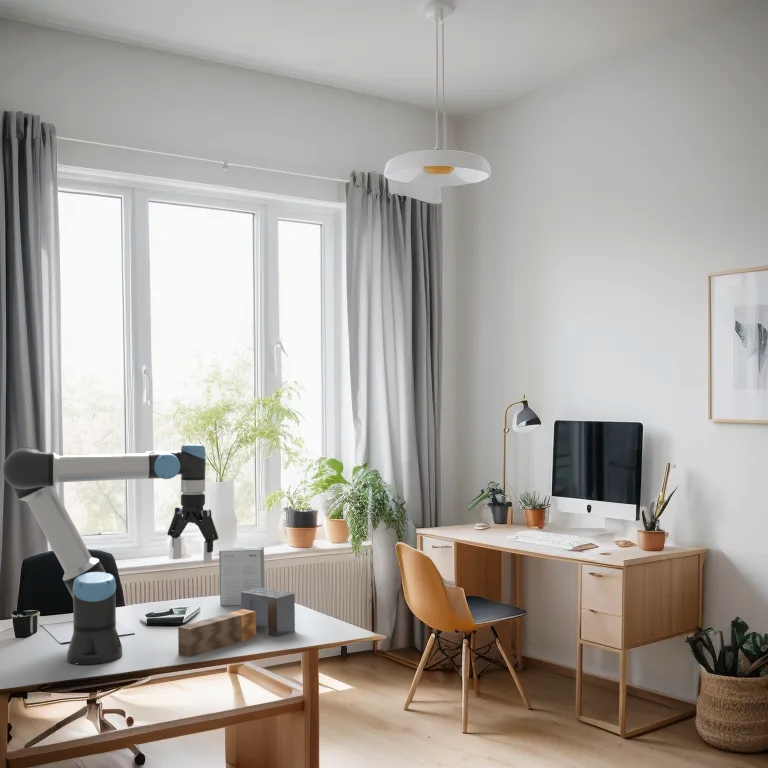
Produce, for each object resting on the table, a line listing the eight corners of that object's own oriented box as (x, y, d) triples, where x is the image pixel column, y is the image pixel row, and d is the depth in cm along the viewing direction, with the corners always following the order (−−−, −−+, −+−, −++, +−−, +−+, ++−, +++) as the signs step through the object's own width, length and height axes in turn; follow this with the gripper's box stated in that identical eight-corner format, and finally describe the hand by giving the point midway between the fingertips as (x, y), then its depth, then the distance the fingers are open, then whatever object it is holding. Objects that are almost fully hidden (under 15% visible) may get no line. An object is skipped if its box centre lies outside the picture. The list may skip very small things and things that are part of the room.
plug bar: (190, 657, 250) (190, 629, 250) (177, 654, 253) (177, 626, 254) (255, 637, 271) (255, 611, 271) (243, 634, 274) (243, 609, 274)
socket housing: (277, 636, 271) (276, 598, 271) (241, 629, 280) (241, 591, 281) (294, 631, 277) (294, 593, 277) (259, 624, 287) (258, 587, 287)
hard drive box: (265, 600, 321) (265, 546, 322) (262, 605, 313) (261, 550, 314) (223, 601, 321) (223, 547, 322) (219, 605, 314) (218, 550, 314)
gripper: (230, 494, 272) (229, 562, 271) (174, 490, 286) (173, 555, 285) (212, 496, 265) (212, 566, 265) (156, 491, 279) (156, 558, 279)
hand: (192, 560), depth 275 cm, fingers open, 13 cm apart
